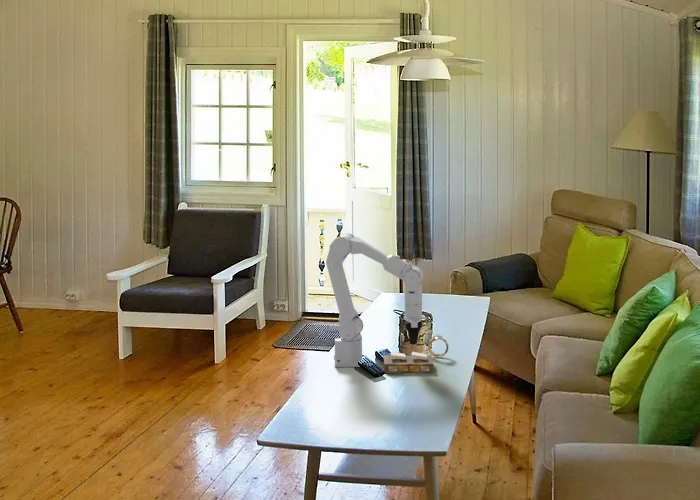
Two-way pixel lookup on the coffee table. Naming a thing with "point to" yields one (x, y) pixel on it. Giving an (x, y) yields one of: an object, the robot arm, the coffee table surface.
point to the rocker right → (419, 355)
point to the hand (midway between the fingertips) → (413, 343)
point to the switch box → (408, 365)
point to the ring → (438, 339)
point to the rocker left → (397, 355)
